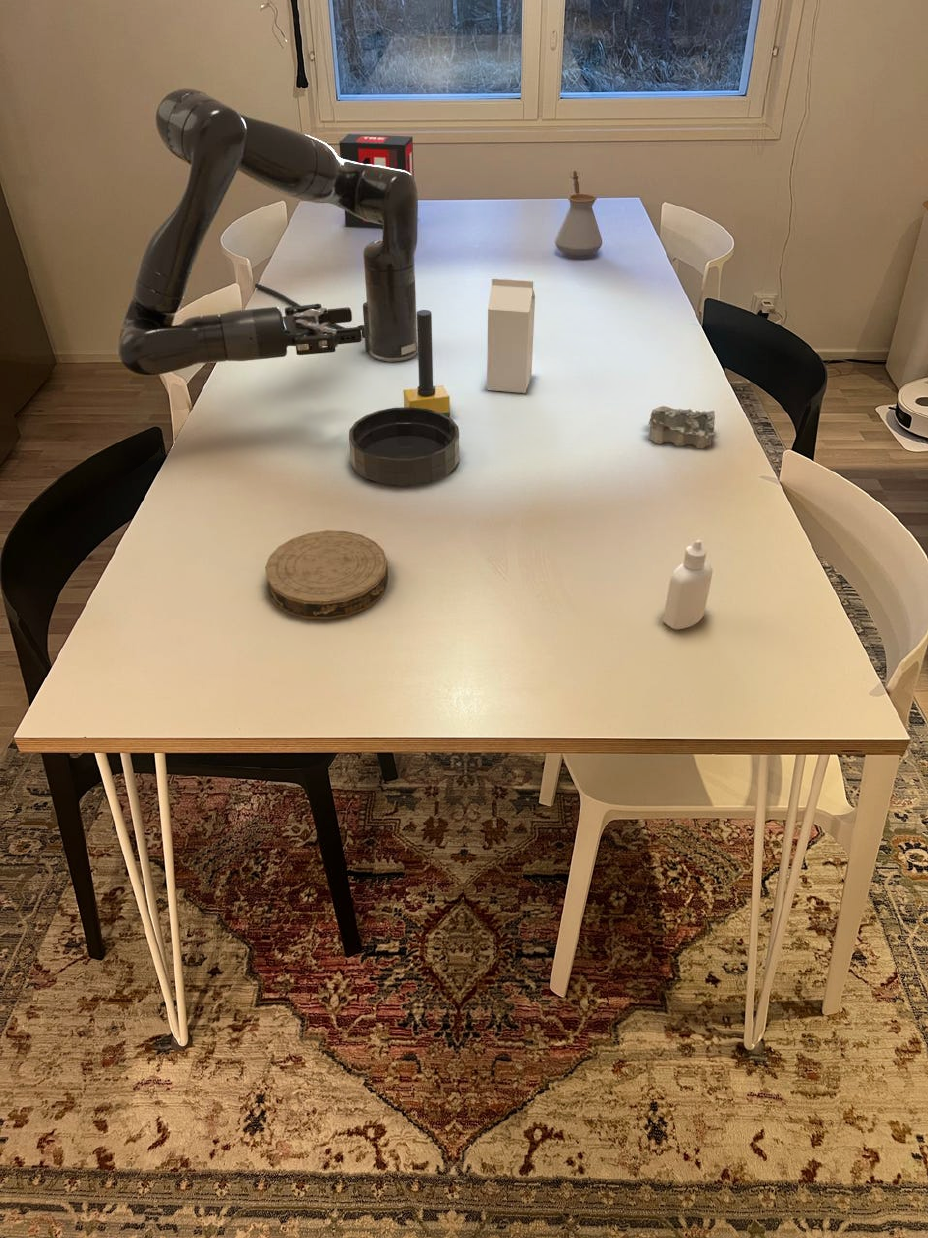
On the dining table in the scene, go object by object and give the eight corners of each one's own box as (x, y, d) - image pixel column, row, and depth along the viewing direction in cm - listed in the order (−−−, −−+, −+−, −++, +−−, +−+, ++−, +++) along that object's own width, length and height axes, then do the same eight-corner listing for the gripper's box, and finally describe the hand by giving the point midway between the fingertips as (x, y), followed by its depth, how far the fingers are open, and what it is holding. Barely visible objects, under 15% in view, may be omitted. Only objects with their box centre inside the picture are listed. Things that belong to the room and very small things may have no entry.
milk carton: (525, 394, 169) (530, 288, 157) (486, 390, 170) (488, 285, 158) (531, 377, 174) (536, 274, 162) (493, 374, 176) (495, 271, 164)
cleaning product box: (415, 219, 249) (412, 136, 236) (407, 229, 242) (404, 144, 230) (354, 216, 251) (348, 133, 239) (345, 226, 244) (339, 142, 232)
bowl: (329, 469, 149) (326, 440, 146) (393, 425, 160) (391, 398, 157) (419, 500, 142) (418, 471, 138) (479, 452, 153) (479, 424, 150)
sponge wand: (410, 422, 161) (405, 319, 149) (404, 411, 164) (399, 309, 153) (449, 417, 162) (448, 315, 151) (443, 406, 165) (441, 305, 154)
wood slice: (286, 632, 118) (283, 614, 116) (255, 564, 129) (252, 546, 127) (405, 601, 122) (404, 582, 121) (365, 537, 134) (364, 520, 132)
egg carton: (644, 443, 155) (647, 420, 152) (650, 422, 161) (652, 400, 158) (710, 451, 153) (714, 428, 150) (713, 429, 158) (717, 407, 156)
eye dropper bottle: (657, 609, 121) (670, 532, 113) (699, 607, 121) (715, 529, 114) (666, 631, 118) (680, 552, 110) (709, 628, 118) (726, 550, 110)
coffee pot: (604, 261, 224) (610, 194, 214) (556, 261, 223) (560, 194, 214) (593, 232, 240) (598, 169, 231) (548, 233, 240) (551, 169, 230)
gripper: (254, 328, 139) (363, 317, 142) (245, 294, 149) (346, 285, 153) (261, 376, 143) (366, 364, 147) (251, 340, 154) (349, 330, 157)
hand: (355, 324), depth 150 cm, fingers open, 8 cm apart
